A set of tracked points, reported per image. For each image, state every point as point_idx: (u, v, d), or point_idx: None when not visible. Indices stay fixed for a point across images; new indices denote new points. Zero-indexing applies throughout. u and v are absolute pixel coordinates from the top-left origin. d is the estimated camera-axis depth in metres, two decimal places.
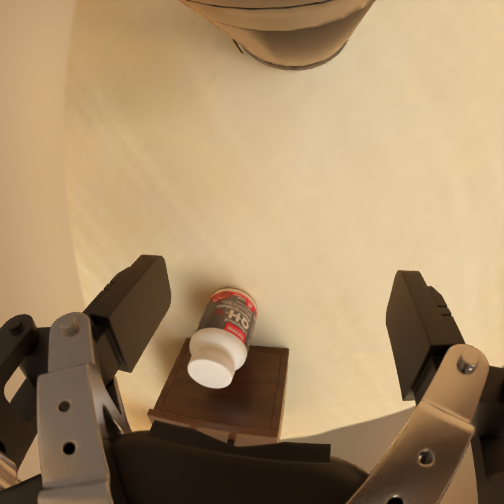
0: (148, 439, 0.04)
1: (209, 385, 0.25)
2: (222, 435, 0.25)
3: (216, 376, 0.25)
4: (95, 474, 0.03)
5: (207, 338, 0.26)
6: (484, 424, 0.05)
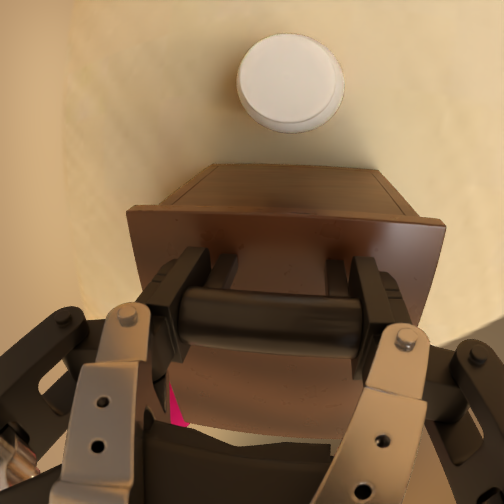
0: (148, 439, 0.04)
1: (283, 113, 0.12)
2: (315, 242, 0.11)
3: (302, 78, 0.11)
4: (117, 479, 0.03)
5: None
6: (431, 406, 0.06)
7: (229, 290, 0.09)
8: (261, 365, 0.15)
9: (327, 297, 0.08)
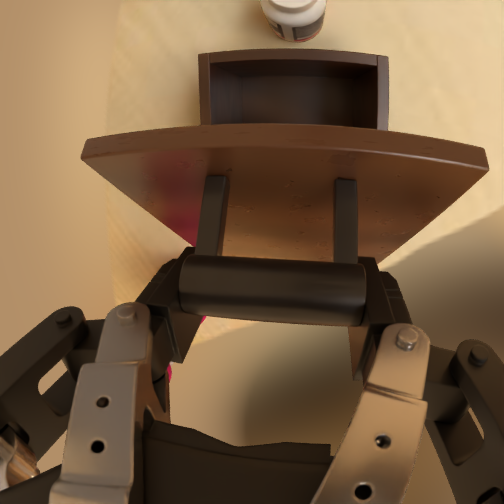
0: (148, 439, 0.04)
1: (289, 2, 0.16)
2: (321, 167, 0.08)
3: None
4: (118, 479, 0.03)
5: None
6: (431, 406, 0.06)
7: (225, 272, 0.08)
8: (271, 231, 0.15)
9: (330, 280, 0.08)
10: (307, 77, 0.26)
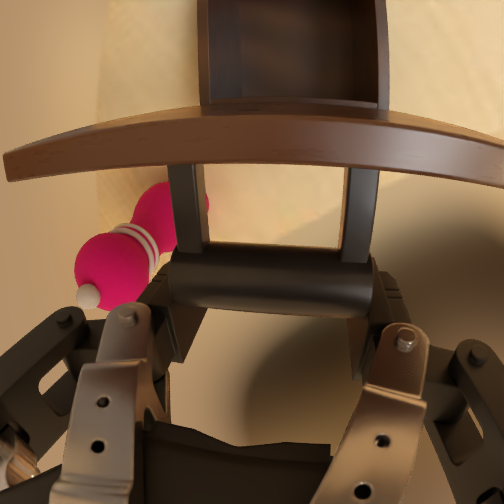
0: (148, 439, 0.04)
1: None
2: None
3: None
4: (118, 479, 0.03)
5: None
6: (431, 406, 0.06)
7: (216, 283, 0.07)
8: None
9: (333, 293, 0.07)
10: None
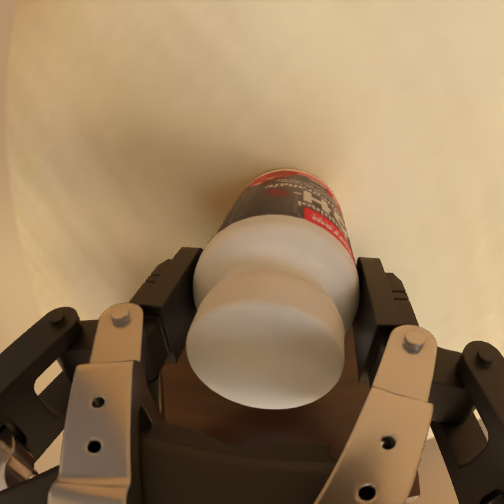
0: (148, 439, 0.04)
1: (256, 401, 0.08)
2: None
3: (287, 371, 0.07)
4: (115, 478, 0.03)
5: (254, 243, 0.08)
6: (438, 407, 0.06)
7: None
8: None
9: None
10: None
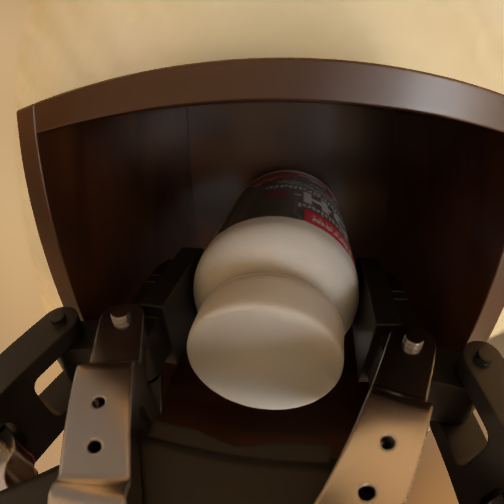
0: (148, 439, 0.04)
1: (257, 402, 0.08)
2: None
3: (287, 372, 0.07)
4: (115, 478, 0.03)
5: (254, 244, 0.08)
6: (437, 407, 0.06)
7: None
8: None
9: None
10: (309, 104, 0.14)
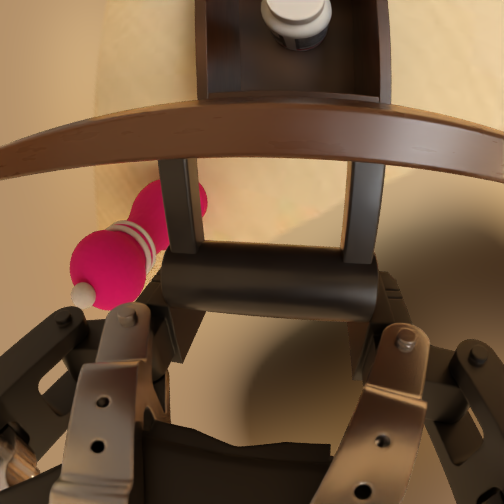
0: (148, 439, 0.04)
1: (292, 14, 0.15)
2: None
3: None
4: (118, 479, 0.03)
5: None
6: (431, 406, 0.06)
7: (210, 286, 0.07)
8: None
9: (335, 297, 0.06)
10: None
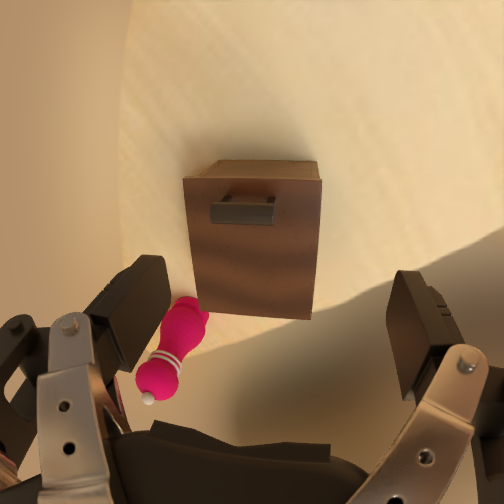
0: (148, 439, 0.04)
1: None
2: (263, 189, 0.27)
3: None
4: (95, 474, 0.03)
5: None
6: (484, 424, 0.05)
7: (228, 202, 0.25)
8: (243, 256, 0.30)
9: (262, 202, 0.24)
10: None
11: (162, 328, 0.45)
